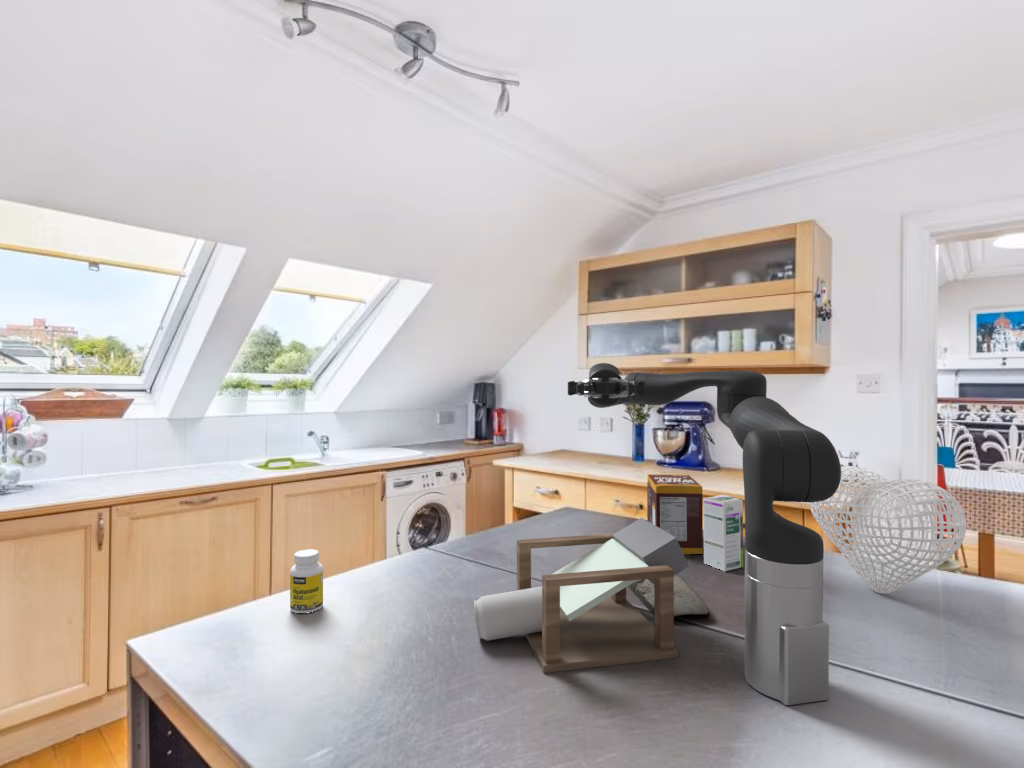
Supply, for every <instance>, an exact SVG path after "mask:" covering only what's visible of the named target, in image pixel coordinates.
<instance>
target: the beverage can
mask: <svg viewBox="0 0 1024 768" xmlns="http://www.w3.org/2000/svg"><path fill="white" fill-rule="evenodd" d="M473 606H474V608H473V609H474V621H475V624H476V632H477V638H478V640H481V639H483V640H484V641H487V642H489V641H494V640H499V639H505V638H510V637H511V638H512V637H518V636H523V635H524V636H525V634H530V633H535V632H541V631H542V585H541V586H537V587H531V588H529V589H523V590H517V589H516V590H513V591H512V590H511V591H505V592H500V593H494V594H489V595H488V594H487V595H482V596H480V597H479V599H477V600H476V599H474V600H473Z"/></svg>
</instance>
